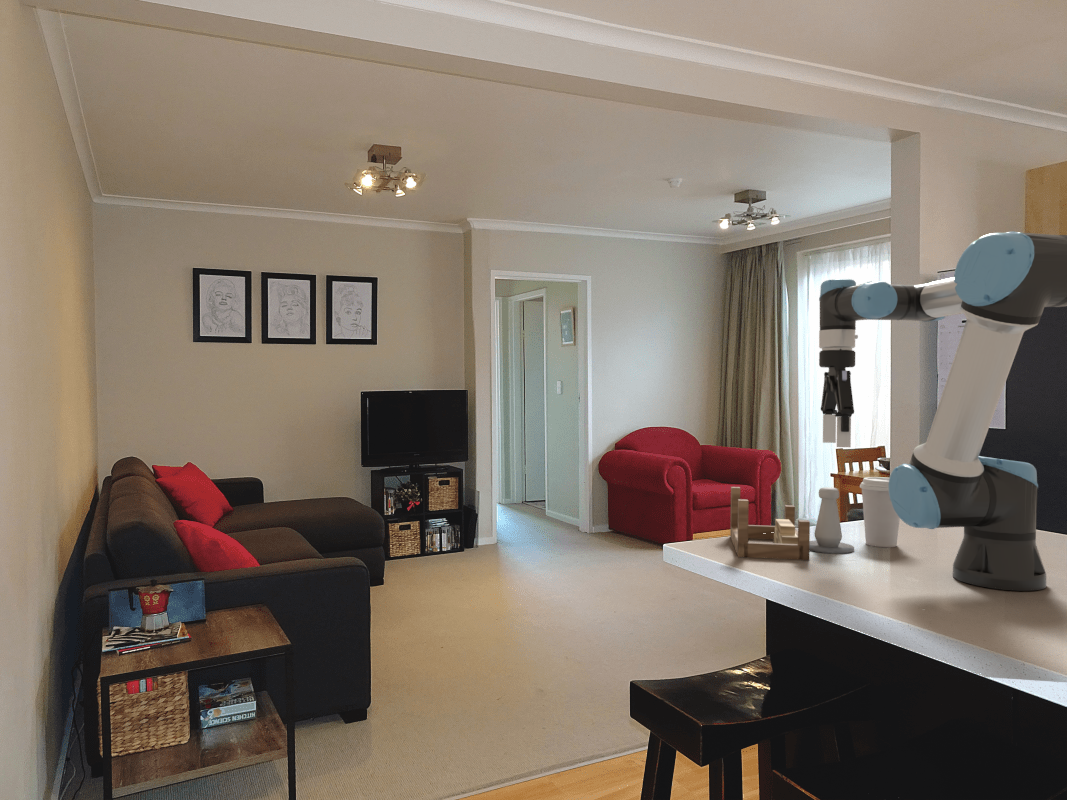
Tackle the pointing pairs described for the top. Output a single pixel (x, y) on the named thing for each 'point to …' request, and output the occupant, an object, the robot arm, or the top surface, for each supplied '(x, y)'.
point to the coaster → (840, 549)
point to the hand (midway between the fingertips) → (836, 445)
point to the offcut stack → (785, 532)
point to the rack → (765, 550)
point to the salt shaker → (828, 519)
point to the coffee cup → (879, 513)
